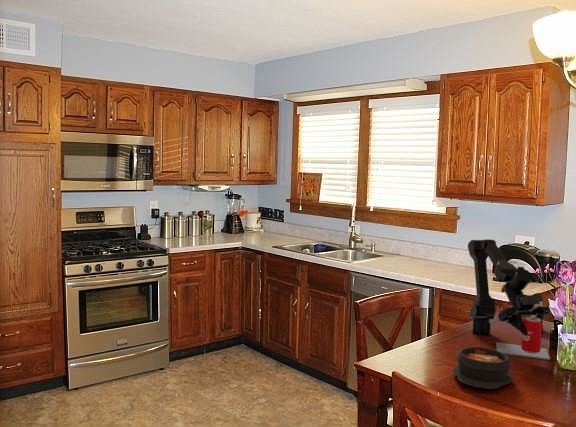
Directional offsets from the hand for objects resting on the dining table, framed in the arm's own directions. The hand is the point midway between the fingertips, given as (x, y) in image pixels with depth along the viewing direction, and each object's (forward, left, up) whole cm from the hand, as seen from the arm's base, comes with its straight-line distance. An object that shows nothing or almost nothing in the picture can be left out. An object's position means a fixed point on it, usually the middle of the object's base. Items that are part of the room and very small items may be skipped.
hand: (534, 334), depth 191 cm
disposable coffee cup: (+2, +49, -11) cm, 50 cm away
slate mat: (-3, +12, -10) cm, 16 cm away
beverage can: (-1, +1, -7) cm, 7 cm away
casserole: (-17, -23, -11) cm, 30 cm away
